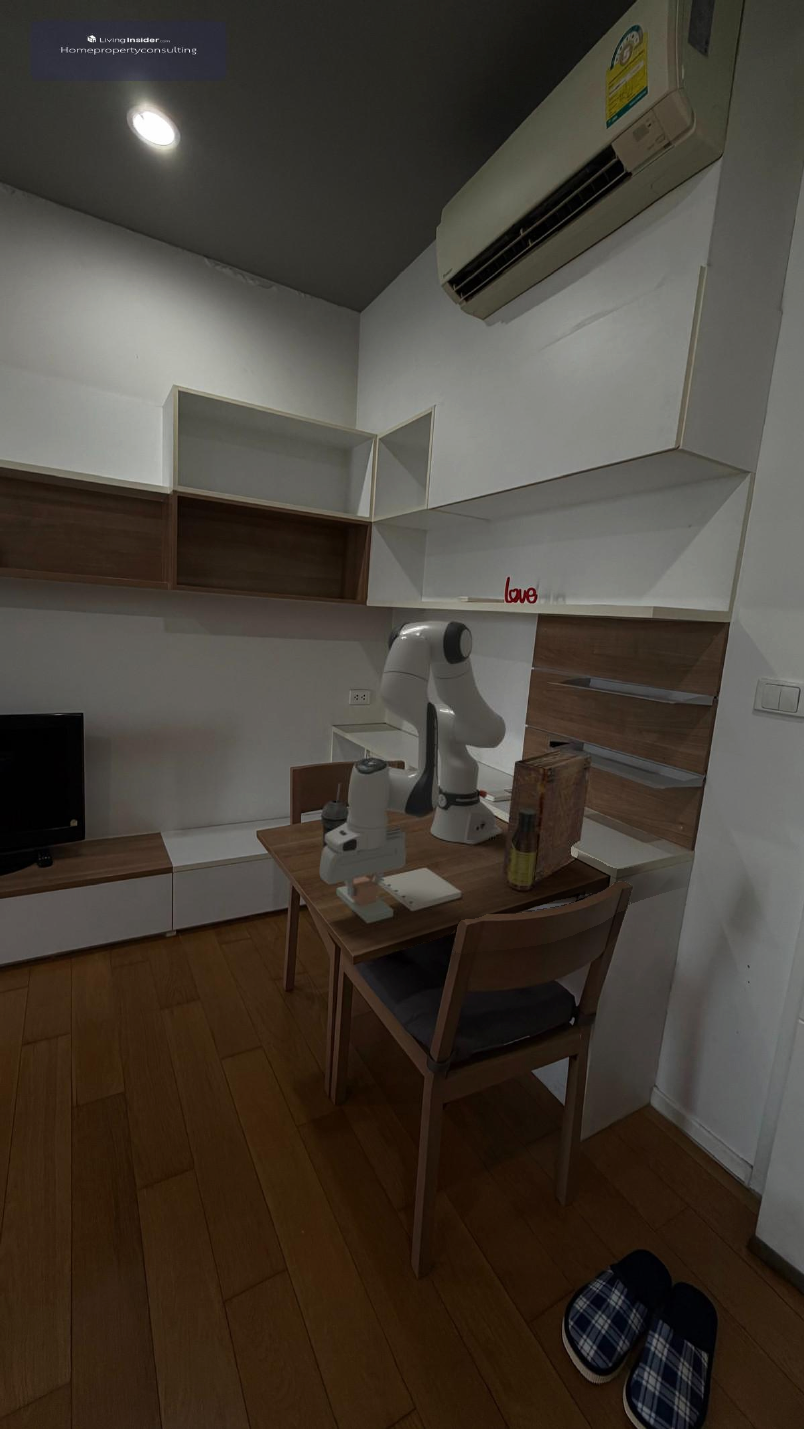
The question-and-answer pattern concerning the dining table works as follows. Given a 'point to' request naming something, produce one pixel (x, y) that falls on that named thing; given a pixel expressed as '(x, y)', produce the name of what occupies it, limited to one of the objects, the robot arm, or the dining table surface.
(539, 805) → the book
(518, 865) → the sauce bottle
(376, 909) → the green slab pink block
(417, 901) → the board
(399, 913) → the dining table surface
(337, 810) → the beverage cup
